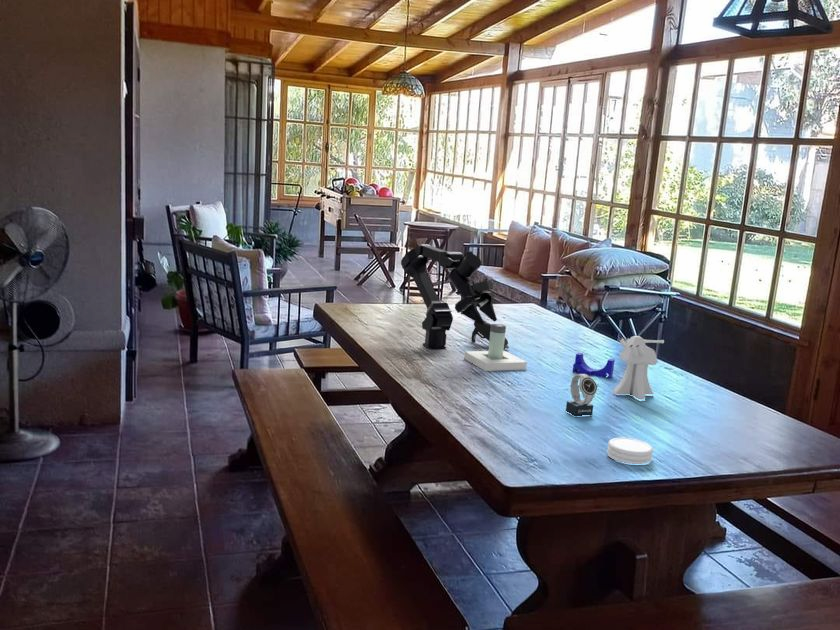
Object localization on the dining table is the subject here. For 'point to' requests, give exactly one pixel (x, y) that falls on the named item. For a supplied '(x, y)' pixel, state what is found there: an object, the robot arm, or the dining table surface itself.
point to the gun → (484, 332)
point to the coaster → (629, 450)
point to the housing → (495, 361)
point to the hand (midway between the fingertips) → (489, 322)
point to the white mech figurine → (636, 366)
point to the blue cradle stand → (585, 369)
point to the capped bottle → (496, 341)
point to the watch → (588, 392)
